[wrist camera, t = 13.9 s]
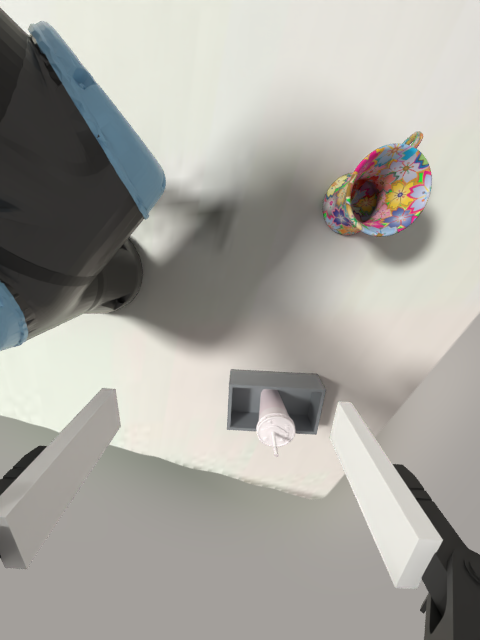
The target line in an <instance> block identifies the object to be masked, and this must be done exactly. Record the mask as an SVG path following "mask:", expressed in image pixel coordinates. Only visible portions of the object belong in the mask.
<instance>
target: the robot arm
mask: <svg viewBox="0 0 480 640" xmlns="http://www.w3.org/2000/svg"><path fill="white" fill-rule="evenodd" d="M28 30H29V32H30V34H31V35H30V36H29V35H28V34H27V33H25V32H24V31H23V30H22V29H21V28H20V27H19V26H18V25H17V24H16V23H15V22H14V21H13V20H12V19H11V18H10V17H9V16H8V15H7V14H6V13H5V12H4V11H3V10H2V9H1V8H0V351H2V350H5V349H8V348H11V347H16V346H19V345H21V344H22V343H23V342H25V341H26V340H29V339H31V338H33V337H35V336H37V335H39V334H41V333H43V332H46V331H48V330H50V329H52V328H54V327H56V326H58V325H60V324H62V323H65V322H67V321H69V320H71V319H73V318H75V317H77V316H79V315H81V314H101V313H109V312H112V311H115V310H118V309H120V308H122V307H123V306H125V305H127V304H128V303H130V302H131V301H132V300H133V299H134V298H135V296H136V295H137V293H138V291H139V289H140V286H141V283H142V265H141V261H140V258H139V255H138V253H137V251H136V249H135V247H134V246H133V244H132V243H131V241H130V240H129V239H128V238H129V236H130V235H131V234H132V233H133V232H134V230H135V229H136V228H137V227H138V225H139V224H140V223H141V222H142V221H143V219H145V220H146V219H147V218H148V217H149V215H148V213H149V212H150V210H151V209H152V208H153V206H154V205H155V204H156V202H157V201H158V199H159V198H160V197H161V195H162V194H163V192H164V190H165V186H166V179H165V174H164V171H163V169H162V167H161V166H160V164H159V163H158V161H157V160H156V159H155V157H154V156H153V155H152V153H151V152H150V151H149V149H148V148H147V146H146V145H145V144H144V143H143V141H142V140H141V139H140V137H139V136H138V135H137V133H136V132H135V131H134V129H133V128H132V127H131V125H130V124H129V123H128V122H127V120H126V119H125V118H124V116H123V115H122V114H121V113H120V111H119V110H118V109H117V107H116V106H115V105H114V104H113V102H112V101H111V100H110V98H109V97H108V96H107V95H106V93H105V92H104V91H103V90H102V88H101V87H100V86H99V85H98V84H97V83H96V82H95V80H94V79H93V77H92V76H91V75H90V73H89V72H88V71H87V70H86V68H85V67H84V66H83V65H82V63H81V62H80V61H79V59H78V58H77V56H76V55H75V54H74V53H73V51H72V50H71V49H70V48H69V46H68V45H67V44H66V43H65V41H64V40H63V39H62V38H61V37H60V35H59V34H58V33H57V32H56V31H55V29H54V28H53V27H52V26H51V25H49V24H48V23H47V22H44V21H40V22H38V23H37V24H30V26H29V28H28ZM120 427H121V425H120V417H119V410H118V403H117V396H116V389H106V388H102V389H101V390H100V391H99V392H98V393H97V394H96V396H95V397H94V398H93V399H92V400H91V401H90V402H89V403H88V404H87V405H86V406H85V407H84V408H83V409H82V410H81V411H80V412H79V413H78V414H77V416H76V417H75V418H74V419H73V420H72V421H71V422H70V423H69V424H68V425H67V426H66V427H65V428H64V429H63V430H62V431H61V432H60V433H59V434H58V436H57V437H56V438H55V439H54V440H53V441H52V442H51V443H50V444H49V445H48V446H38V447H37V448H35V449H34V450H32V451H31V452H29V453H28V454H26V455H25V456H24V457H23V458H22V459H21V460H20V461H19V462H18V463H17V464H16V465H15V466H14V467H13V469H11V470H9V471H8V472H7V473H6V475H4V476H3V479H0V558H1V560H2V562H3V564H4V566H5V568H17V569H27V568H28V566H29V565H30V563H31V562H32V560H33V559H34V557H35V556H36V554H37V553H38V551H39V550H40V548H41V547H42V545H43V544H44V542H45V541H46V539H47V538H48V536H49V535H50V533H51V532H52V530H53V528H54V527H55V525H56V524H57V522H58V521H59V519H60V518H61V516H62V515H63V513H64V512H65V510H66V509H67V507H68V506H69V504H70V503H71V501H72V500H73V498H74V497H75V495H76V494H77V492H78V490H79V489H80V487H81V486H82V484H83V483H84V481H85V480H86V478H87V477H88V475H89V474H90V472H91V471H92V469H93V468H94V466H95V465H96V463H97V462H98V460H99V458H100V457H101V456H102V454H103V452H104V451H105V449H106V448H107V446H108V445H109V443H110V442H111V440H112V439H113V437H114V436H115V434H116V433H117V431H118V430H119V428H120ZM330 440H331V442H332V444H333V447H334V449H335V451H336V453H337V456H338V458H339V460H340V463H341V465H342V467H343V469H344V472H345V474H346V476H347V479H348V481H349V483H350V485H351V488H352V490H353V492H354V495H355V497H356V499H357V501H358V504H359V506H360V508H361V511H362V513H363V515H364V517H365V520H366V522H367V524H368V527H369V528H370V531H371V534H372V536H373V538H374V540H375V543H376V545H377V547H378V549H379V552H380V554H381V556H382V559H383V561H384V563H385V566H386V568H387V570H388V572H389V575H390V577H391V579H392V581H393V584H394V586H395V588H410V589H416V588H417V587H418V585H419V583H420V582H421V580H423V582H424V584H425V586H426V588H427V590H428V591H429V594H428V595H427V597H426V599H425V600H424V602H423V604H422V606H421V609H420V611H421V612H422V613H424V612H425V611H426V620H425V621H426V622H425V636H424V640H480V555H479V554H478V553H475V552H474V551H472V550H470V549H468V548H467V547H466V545H465V544H464V543H463V542H462V540H461V539H460V537H459V536H458V535H457V533H456V532H455V530H454V529H453V528H452V526H451V525H450V524H449V522H448V521H447V519H446V518H445V517H444V515H443V514H442V513H441V511H440V510H439V509H438V508H437V506H436V504H435V503H434V502H432V500H431V498H430V496H429V495H428V493H427V492H426V491H424V488H423V486H422V485H421V484H420V482H419V481H418V480H417V478H416V477H415V476H414V475H413V474H412V473H411V472H410V471H409V470H408V469H407V468H406V467H404V466H403V465H398V464H397V465H396V464H392V463H391V461H390V460H389V458H388V457H387V455H386V454H385V452H384V451H383V449H382V448H381V446H380V445H379V443H378V442H377V440H376V439H375V437H374V436H373V434H372V433H371V431H370V430H369V428H368V427H367V425H366V424H365V422H364V421H363V419H362V418H361V416H360V415H359V413H358V412H357V410H356V409H355V407H354V406H353V404H352V403H351V402H339V401H338V404H337V409H336V413H335V417H334V421H333V426H332V430H331V434H330Z"/></svg>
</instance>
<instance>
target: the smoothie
mask: <svg viewBox="0 0 480 640" xmlns="http://www.w3.org/2000/svg"><path fill="white" fill-rule="evenodd" d="M256 430H257V436H258V438H259V440H260V441H261V442H262V443H264V444H265V445H268V446H271V447H273V448H274V455H275V457H278V450H277V447H280V446H283V445H286V444H288V443H289V442H290V441H291V440H292V439H293V438H294V436H295V425H294V422H293V420H292V419H291V418H290V417H289V415H288V413H287V410H286V408H285V406H284V404H283V401H282V399H281V397H280V395H279V392H278V391H277V390H271V389H263V390H262V392H261V397H260V410H259V421H258V424H257V427H256Z"/></svg>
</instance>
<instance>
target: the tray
mask: <svg viewBox="0 0 480 640" xmlns="http://www.w3.org/2000/svg"><path fill="white" fill-rule="evenodd" d="M263 389H271V390H277V391H278V392H279V395H280V397H281V399H282V401H283V404H284V406H285V408H286V410H287V413H288V415H289V417H290V418H291V419H292V420H293V422H294V425H295V433H298V434H317V430H318V425H319V420H320V415H321V411H322V406H323V401H324V396H325V392H326V389H325V387H324V385H323V383H322V382H321V380H320V378H319V376H318V374H305V373H287V372H269V371H251V370H234V369H231V371H230V381H229V399H228V419H227V430H243V431H257V430H256V427H257V424H258V421H259V410H260V397H261V392H262V390H263Z"/></svg>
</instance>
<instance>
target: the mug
mask: <svg viewBox="0 0 480 640" xmlns="http://www.w3.org/2000/svg"><path fill="white" fill-rule="evenodd" d="M422 138H423V134H422V133H421V132H419V131H418V132H415V133H414V134H412V135H411V136H410V137H409V138H407V139H406V140H405V141H404V142H403V143H402V144H389V145H385V146H383V147H380V148H378V149H376V150H375V151H373V152H371V153H370V154H369V155H368V156H366V157H365V158H364V159H363V160H362V161H361V162H360V164H359V165H358V166H357V168H356V169H355V171H354V172H353V173H349V174H346V175H343V176H342V177H340V178H338V179H337V180H336V181H335V182H334V183H333V184H332V185H331V186H330V188H329V189H328V191H327V193H326V195H325V198H324V202H323V215H324V219H325V221H326V223H327V225H328V226H329V227H330V228H331V229H332V230H333V231H335V232H337V233H339V234H344V235H350V234H355V233H358V232H360V231H362V232H363V233H365V234H368V235H371V236H377V237H383V236H389V235H393V234H396V233H398V232H400V231H402V230H404V229H405V228H407V227H408V226H409V225H410V224H412V223H413V222H414V221H415V220H416V219H417V217H418V216H419V215H420V214H421V212H422V211H423V209H424V207H425V205H426V203H427V201H428V198H429V195H430V191H431V185H432V175H431V170H430V166H429V164H428V162H427V160H426V158H425V157H424V155H423V154H422V153H421V152H420V151H419V150H417V147H418V146H419V144H420V143H421V141H422ZM413 141H414V142H413ZM412 142H413V143H412ZM411 143H412V144H411ZM410 144H411V146H409V145H410Z"/></svg>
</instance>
